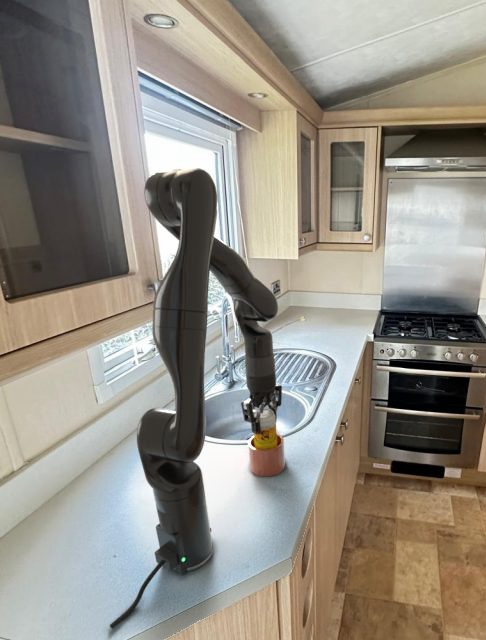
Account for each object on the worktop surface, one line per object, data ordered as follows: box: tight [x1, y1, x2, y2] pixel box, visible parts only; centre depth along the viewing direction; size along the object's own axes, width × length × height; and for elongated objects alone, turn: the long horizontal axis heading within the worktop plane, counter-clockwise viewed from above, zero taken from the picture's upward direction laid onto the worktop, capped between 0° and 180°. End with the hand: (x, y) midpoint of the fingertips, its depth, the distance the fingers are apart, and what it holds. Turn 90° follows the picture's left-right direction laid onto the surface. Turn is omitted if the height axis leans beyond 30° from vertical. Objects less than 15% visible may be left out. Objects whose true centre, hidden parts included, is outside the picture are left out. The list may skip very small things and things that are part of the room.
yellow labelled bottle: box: [253, 408, 278, 450], centre depth 111 cm, size 6×6×15 cm
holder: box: [247, 433, 286, 477], centre depth 112 cm, size 10×10×8 cm
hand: (264, 427), depth 109 cm, fingers closed on yellow labelled bottle, 6 cm apart
